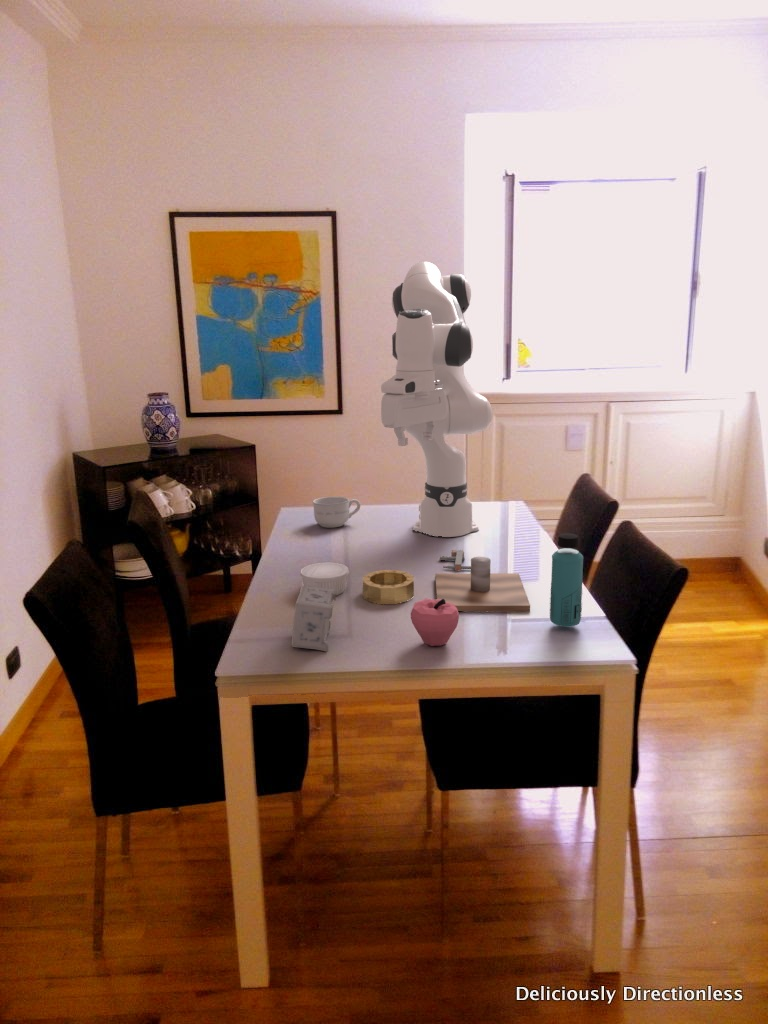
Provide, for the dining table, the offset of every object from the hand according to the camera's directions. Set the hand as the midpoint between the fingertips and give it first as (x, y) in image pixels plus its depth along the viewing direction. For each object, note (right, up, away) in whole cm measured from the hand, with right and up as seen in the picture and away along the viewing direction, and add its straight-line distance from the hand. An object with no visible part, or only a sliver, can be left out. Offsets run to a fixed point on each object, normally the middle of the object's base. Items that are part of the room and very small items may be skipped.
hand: (415, 442), depth 188 cm
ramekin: (-21, -35, +2) cm, 41 cm away
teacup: (-21, -20, +53) cm, 61 cm away
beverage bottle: (+30, -40, -20) cm, 54 cm away
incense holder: (-21, -42, -25) cm, 54 cm away
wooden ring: (-6, -35, -2) cm, 36 cm away
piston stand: (+15, -35, -2) cm, 38 cm away
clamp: (+11, -30, +17) cm, 37 cm away
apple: (+3, -42, -27) cm, 50 cm away
